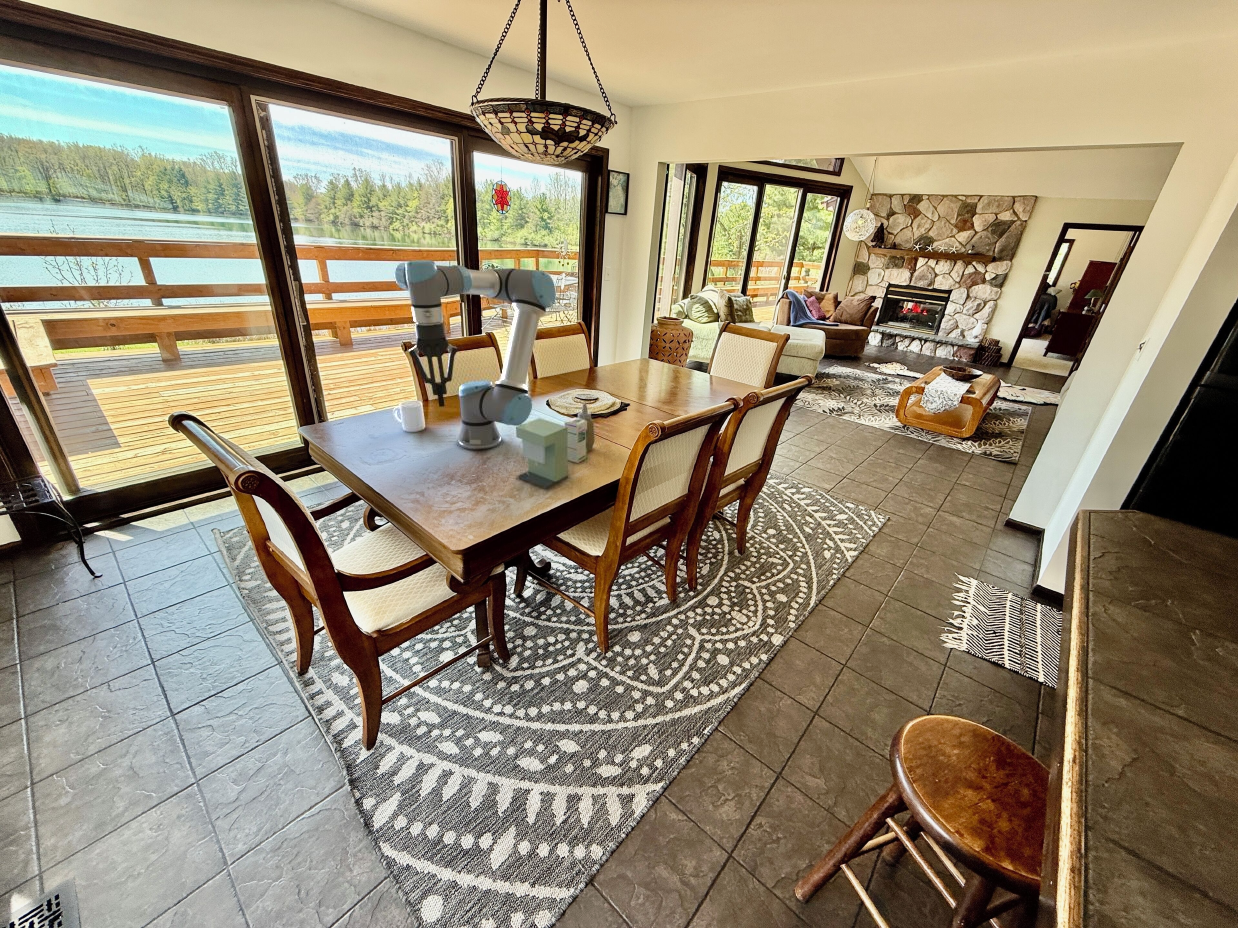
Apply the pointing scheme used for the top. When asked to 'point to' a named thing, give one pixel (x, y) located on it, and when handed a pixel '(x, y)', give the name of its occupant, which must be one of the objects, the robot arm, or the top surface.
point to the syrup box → (577, 439)
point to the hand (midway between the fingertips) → (441, 404)
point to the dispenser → (546, 452)
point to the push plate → (533, 451)
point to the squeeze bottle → (588, 426)
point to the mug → (410, 416)
